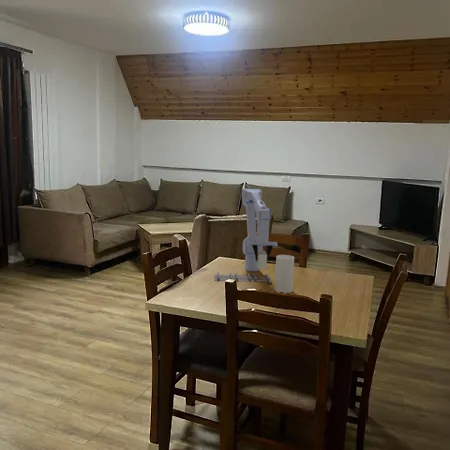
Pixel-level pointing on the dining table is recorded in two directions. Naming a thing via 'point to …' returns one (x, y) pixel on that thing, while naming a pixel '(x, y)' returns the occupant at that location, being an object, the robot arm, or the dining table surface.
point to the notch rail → (243, 278)
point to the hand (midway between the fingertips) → (261, 260)
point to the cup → (284, 273)
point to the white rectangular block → (261, 260)
